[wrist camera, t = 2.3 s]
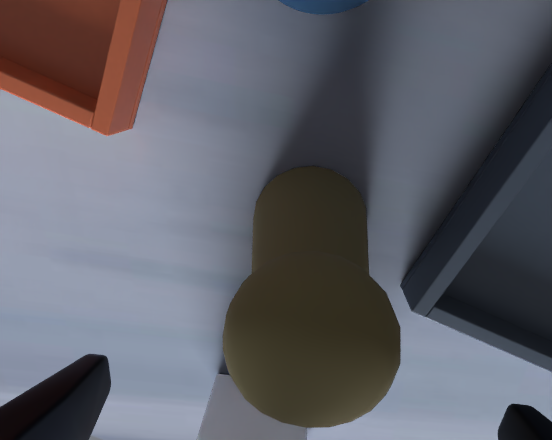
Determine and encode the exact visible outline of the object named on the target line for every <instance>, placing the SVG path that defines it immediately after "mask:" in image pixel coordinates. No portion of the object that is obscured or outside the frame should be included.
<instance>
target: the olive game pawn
mask: <svg viewBox="0 0 552 440" xmlns="http://www.w3.org/2000/svg"><path fill="white" fill-rule="evenodd" d="M223 352H224V356H225V360H226V365H227V369H228V372H229V374H230V376H231V378H232V379H233V381H234V383H235V385H236V386H237V388H238V389H239V391H240V392H241V394H242V395H243V397H244V398H245V400H247V401H248V402H249V403H250V404H251V405H253V406H254V407H255V408H256V409H257V410H259V411H260V412H261V413H263V414H265V415H267V416H269V417H271V418H273V419H275V420H277V421H280V422H282V423H286V424H291V425H295V426H300V427H305V428H312V427H332V426H336V425H340V424H344V423H348V422H351V421H353V420H355V419H357V418H359V417H361V416H362V415H364V414H366V413H368V412H369V411H371V410H372V409H373V408H374V407H375V406H376V405H377V404H378V403H379V402H380V401H381V400H382V399H383V397H384V396H385V395H386V394H387V392H388V390H389V388H390V387H391V385H392V382H393V380H394V378H395V375H396V373H397V370H398V368H399V366H400V325H399V323H398V320H397V318H396V315H395V313H394V310H393V308H392V305H391V303H390V301H389V298H388V296H387V294H386V292H385V291H384V290H383V289H382V288H381V287H380V286H379V285H378V284H377V283H376V282H375V281H374V280H373V278H372V277H371V276H370V275H369V263H368V239H367V216H366V206H365V204H364V201H363V199H362V197H361V194H360V192H359V191H358V190H357V189H356V187H355V186H354V185H353V184H352V183H351V182H350V181H349V180H348V179H347V178H346V177H344V176H342V175H340V174H339V173H337V172H335V171H333V170H331V169H326V168H321V167H316V166H307V167H298V168H293V169H291V170H289V171H286V172H284V173H282V174H279V175H277V176H276V177H275V178H274V179H273V180H272V181H271V182H270V183H269V184H267V185H266V186H265V187H264V189H263V191H262V193H261V194H260V196H259V198H258V200H257V201H256V206H255V212H254V217H253V244H252V274H251V275H249V276H248V278H247V279H246V280H245V281H244V282H243V283H242V284H241V286H240V288H239V289H238V291H237V293H236V294H235V296H234V298H233V299H232V301H231V303H230V305H229V308H228V311H227V314H226V319H225V325H224V331H223Z"/></svg>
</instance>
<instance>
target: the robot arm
mask: <svg viewBox="0 0 552 440" xmlns="http://www.w3.org/2000/svg"><path fill="white" fill-rule="evenodd" d="M110 387H111V378H110V371H109V363H108V358H107V357H106V356H104V355H97V354H87V355H85V356H83V357H82V358H80V359H78V360H77V361H75V362H74V363H72V364H70V365H69V366H67V367H65V368H64V369H62V370H60V371H59V372H57V373H55V374H54V375H52V376H51V377H49V378H47V379H46V380H44V381H42V382H41V383H39V384H37V385H36V386H34V387H32V388H31V389H29V390H28V391H26V392H24V393H23V394H21V395H19V396H18V397H16V398H14V399H13V400H11V401H9V402H8V403H6V404H5V405H3V406H1V407H0V440H89V438H90V436H91V433H92V431H93V429H94V426H95V424H96V422H97V420H98V417H99V415H100V413H101V410H102V408H103V406H104V403H105V401H106V399H107V396H108V394H109V391H110ZM498 440H552V422H551V421H550V420H549V419H547V418H546V417H545V416H544V415H542V414H541V413H540V412H539V411H537V410H536V409H535V408H533V407H531V406H528V405H520V404H511V405H509V406H508V408H507V410H506V412H505V414H504V417H503V419H502V422H501V424H500V426H499V429H498Z"/></svg>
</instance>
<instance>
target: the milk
mask: <svg viewBox="0 0 552 440" xmlns="http://www.w3.org/2000/svg"><path fill="white" fill-rule="evenodd" d="M197 440H307V428H305V427H300V426H295V425H291V424H286V423H282V422H280V421H277V420H275V419H273V418H271V417H269V416H267V415H265V414H263V413H261V412H260V411H259V410H257V409H256V408H255V407H254V406H253V405H251V404H250V403H249V402H248V401H247V400H245V398H244V397H243V395H242V394H241V392H240V391H239V389H238V388H237V386H236V385H235V383H234V381H233V379H232V378H231V376H230V375H223V374H217V376H216V378H215V382H214V385H213V388H212V391H211V395H210V398H209V401H208V404H207V408H206V411H205V414H204V417H203V421H202V424H201V427H200V430H199V434H198V437H197Z"/></svg>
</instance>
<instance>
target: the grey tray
mask: <svg viewBox="0 0 552 440" xmlns="http://www.w3.org/2000/svg"><path fill="white" fill-rule="evenodd" d="M400 286H401V288H402V290H403V292H404V295H405V297H406V299H407V302H408V304H409V306H410V309H411V311H412V312H414V313H416V314H418V315H421V316H423V317H426V318H428V319H430V320H432V321H435V322H437V323H439V324H442V325H444V326H446V327H449V328H451V329H453V330H455V331H458V332H460V333H462V334H465V335H467V336H469V337H472V338H474V339H476V340H479V341H481V342H483V343H486V344H488V345H490V346H493V347H495V348H497V349H499V350H502V351H504V352H506V353H509V354H511V355H513V356H516V357H518V358H520V359H523V360H525V361H527V362H530V363H532V364H534V365H537V366H539V367H541V368H544V369H546V370H548V371H550V372H552V63H551V65H550V66H549V68H548V69H547V71H546V72H545V74H544V75H543V77H542V78H541V80H540V81H539V83H538V84H537V85H536V87H535V88H534V90H533V91H532V93H531V94H530V96H529V97H528V99H527V100H526V102H525V103H524V105H523V106H522V107H521V109H520V110H519V112H518V113H517V115H516V116H515V118H514V119H513V121H512V122H511V124H510V125H509V126H508V128H507V129H506V131H505V132H504V134H503V135H502V137H501V138H500V140H499V141H498V143H497V144H496V146H495V147H494V148H493V150H492V151H491V153H490V154H489V156H488V157H487V159H486V160H485V162H484V163H483V165H482V166H481V168H480V169H479V170H478V172H477V173H476V175H475V176H474V178H473V179H472V181H471V182H470V184H469V185H468V187H467V188H466V190H465V191H464V192H463V194H462V195H461V197H460V198H459V200H458V201H457V203H456V204H455V206H454V207H453V209H452V210H451V211H450V213H449V214H448V216H447V217H446V219H445V220H444V222H443V223H442V225H441V226H440V228H439V229H438V231H437V232H436V233H435V235H434V236H433V238H432V239H431V241H430V242H429V244H428V245H427V247H426V248H425V250H424V251H423V253H422V254H421V255H420V257H419V258H418V260H417V261H416V263H415V264H414V266H413V267H412V269H411V270H410V272H409V273H408V274H407V276H406V277H405V279H404V280H403V282H402V283H401V285H400Z"/></svg>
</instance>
